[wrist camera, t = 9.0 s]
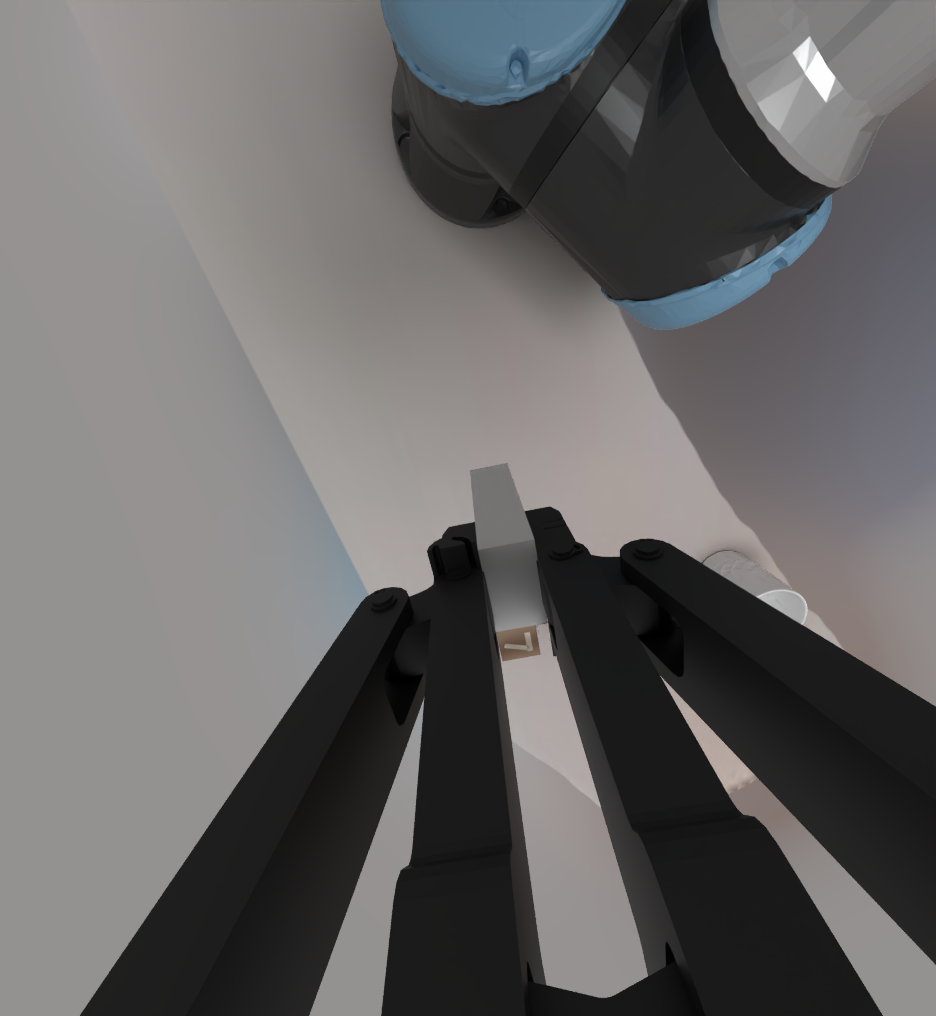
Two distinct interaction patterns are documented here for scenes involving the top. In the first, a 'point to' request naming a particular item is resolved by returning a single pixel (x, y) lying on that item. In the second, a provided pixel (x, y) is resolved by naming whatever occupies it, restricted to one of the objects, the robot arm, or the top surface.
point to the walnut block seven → (518, 643)
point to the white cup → (758, 583)
